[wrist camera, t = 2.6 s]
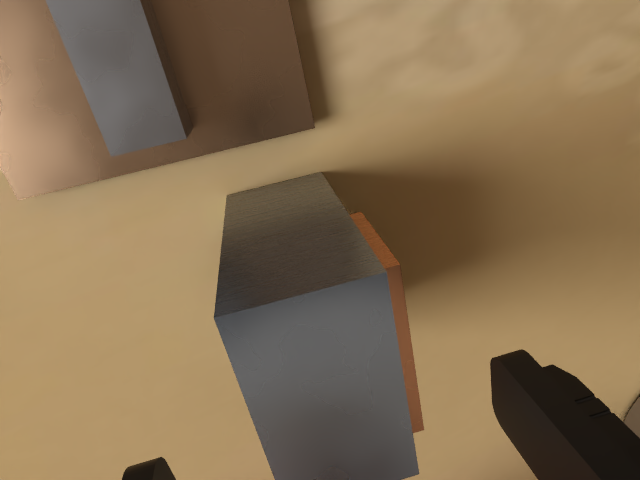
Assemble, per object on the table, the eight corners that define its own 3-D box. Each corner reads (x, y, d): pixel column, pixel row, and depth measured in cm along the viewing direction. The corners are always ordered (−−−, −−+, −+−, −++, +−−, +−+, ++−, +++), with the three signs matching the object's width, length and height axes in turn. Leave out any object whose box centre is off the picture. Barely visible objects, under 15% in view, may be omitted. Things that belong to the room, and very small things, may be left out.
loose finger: (362, 306, 21) (438, 468, 13) (269, 331, 21) (287, 513, 13) (335, 168, 18) (411, 264, 10) (226, 195, 18) (213, 317, 10)
